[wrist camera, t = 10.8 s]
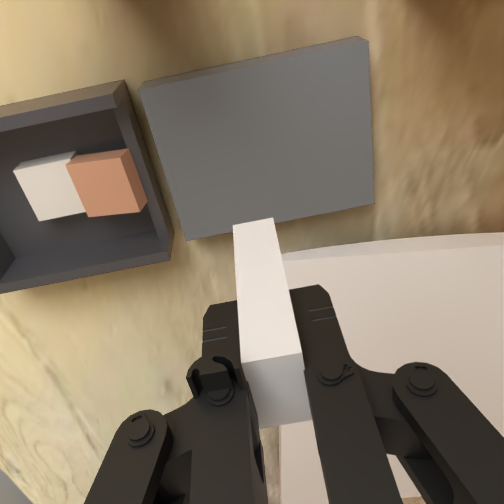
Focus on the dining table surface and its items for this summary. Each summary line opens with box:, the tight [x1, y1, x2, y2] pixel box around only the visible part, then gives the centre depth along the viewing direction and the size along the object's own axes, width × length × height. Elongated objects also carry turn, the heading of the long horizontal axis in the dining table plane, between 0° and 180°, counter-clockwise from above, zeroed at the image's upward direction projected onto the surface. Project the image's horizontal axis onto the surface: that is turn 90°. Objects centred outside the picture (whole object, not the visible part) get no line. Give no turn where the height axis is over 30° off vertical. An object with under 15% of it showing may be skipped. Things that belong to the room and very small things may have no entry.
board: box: [279, 232, 504, 504], centre depth 57 cm, size 45×32×5 cm
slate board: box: [138, 36, 375, 241], centre depth 39 cm, size 14×18×3 cm
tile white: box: [13, 151, 86, 221], centre depth 39 cm, size 5×5×2 cm
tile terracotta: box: [65, 148, 148, 217], centre depth 38 cm, size 5×5×2 cm
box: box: [0, 80, 174, 294], centre depth 39 cm, size 15×17×5 cm
